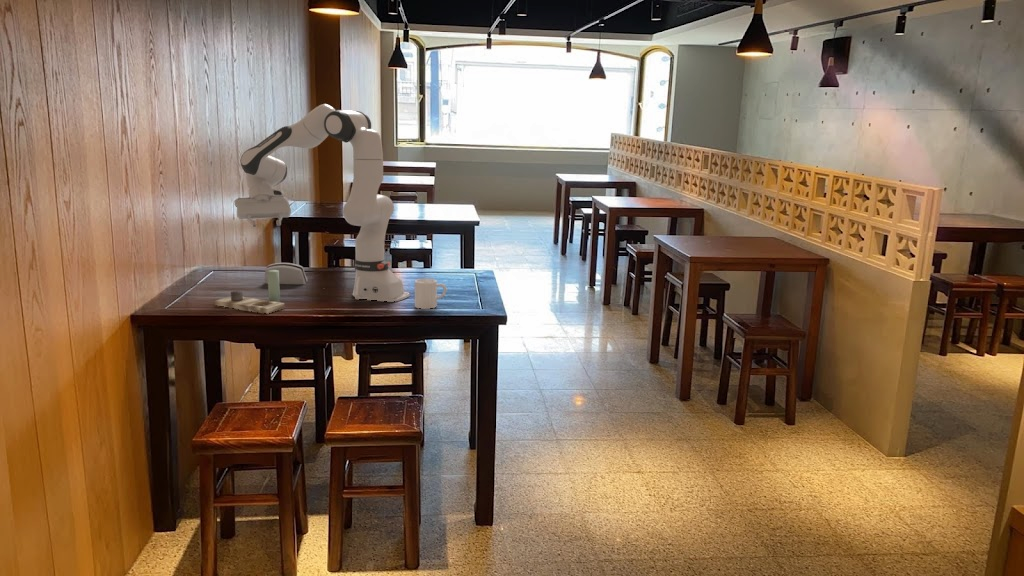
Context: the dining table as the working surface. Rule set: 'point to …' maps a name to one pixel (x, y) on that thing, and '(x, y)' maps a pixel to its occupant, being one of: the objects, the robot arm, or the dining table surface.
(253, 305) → the hole plate
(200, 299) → the dining table surface
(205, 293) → the dining table surface
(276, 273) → the peg
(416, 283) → the mug
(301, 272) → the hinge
